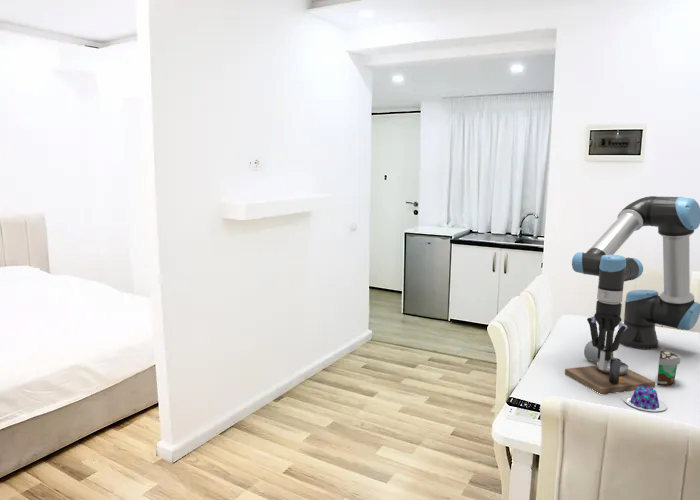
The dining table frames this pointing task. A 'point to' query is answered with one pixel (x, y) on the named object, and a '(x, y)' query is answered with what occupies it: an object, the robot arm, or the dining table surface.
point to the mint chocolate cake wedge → (667, 367)
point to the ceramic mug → (592, 352)
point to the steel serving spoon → (614, 369)
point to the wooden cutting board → (607, 380)
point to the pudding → (645, 399)
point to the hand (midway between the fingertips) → (602, 368)
